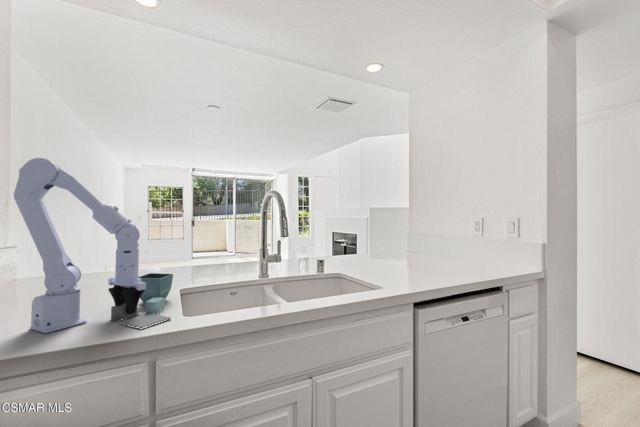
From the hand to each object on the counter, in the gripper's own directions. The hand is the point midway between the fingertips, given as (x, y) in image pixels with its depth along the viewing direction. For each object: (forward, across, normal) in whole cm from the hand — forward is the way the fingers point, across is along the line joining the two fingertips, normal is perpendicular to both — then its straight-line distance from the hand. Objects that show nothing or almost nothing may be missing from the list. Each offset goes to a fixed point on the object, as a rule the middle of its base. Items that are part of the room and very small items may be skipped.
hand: (125, 312), depth 90 cm
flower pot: (+2, +8, -15) cm, 17 cm away
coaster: (+1, -9, 0) cm, 9 cm away
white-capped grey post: (+1, 0, 0) cm, 1 cm away
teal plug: (+1, -2, -8) cm, 8 cm away
